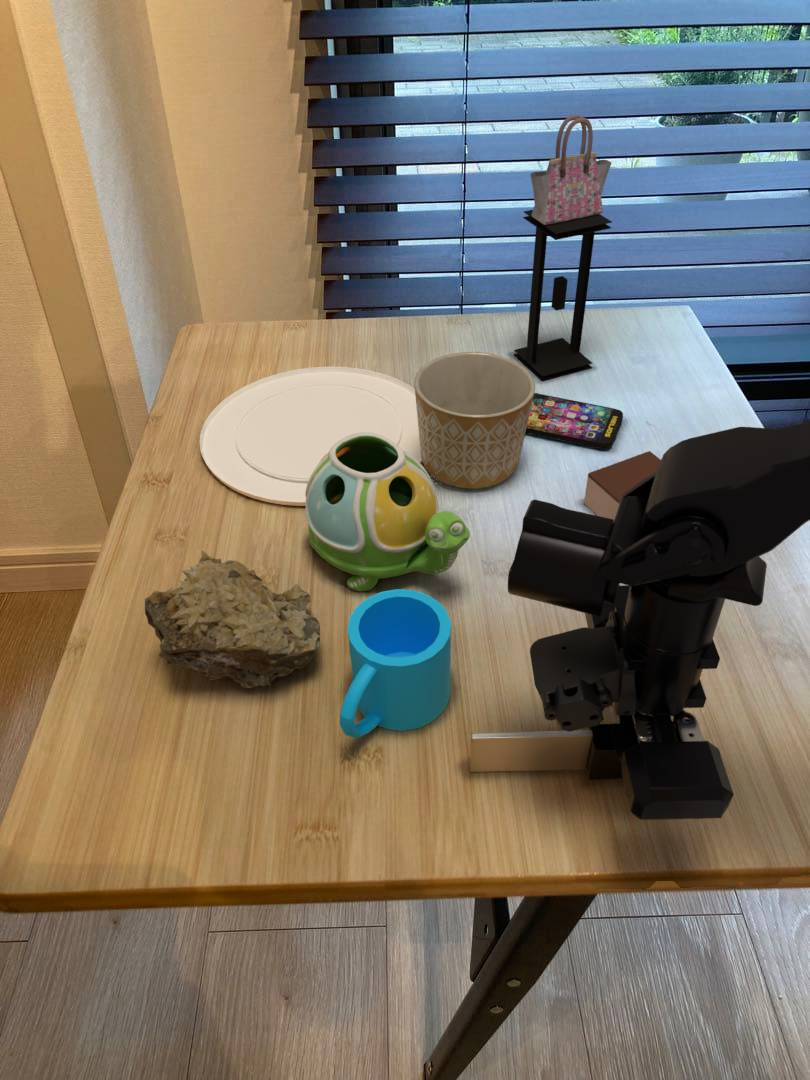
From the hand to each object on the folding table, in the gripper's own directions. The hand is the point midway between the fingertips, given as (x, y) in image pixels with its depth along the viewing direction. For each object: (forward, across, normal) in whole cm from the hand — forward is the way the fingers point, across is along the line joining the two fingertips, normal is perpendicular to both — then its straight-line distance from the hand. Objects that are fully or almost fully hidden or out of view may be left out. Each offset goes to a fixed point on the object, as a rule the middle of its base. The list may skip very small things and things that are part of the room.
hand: (632, 758), depth 65 cm
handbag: (+1, -62, +3) cm, 62 cm away
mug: (+1, -6, -19) cm, 20 cm away
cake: (+1, -30, +7) cm, 31 cm away
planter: (+1, -40, -10) cm, 41 cm away
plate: (+1, -46, -27) cm, 54 cm away
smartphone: (+1, -47, +1) cm, 47 cm away
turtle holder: (+1, -25, -19) cm, 32 cm away
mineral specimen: (+1, -13, -31) cm, 34 cm away
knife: (+1, 0, -4) cm, 5 cm away
